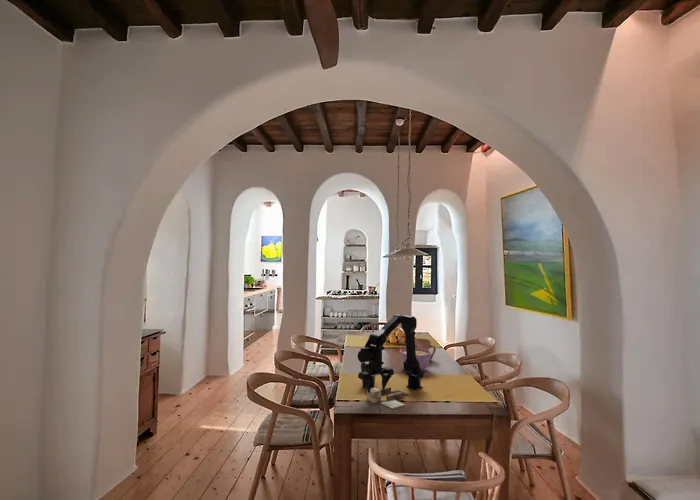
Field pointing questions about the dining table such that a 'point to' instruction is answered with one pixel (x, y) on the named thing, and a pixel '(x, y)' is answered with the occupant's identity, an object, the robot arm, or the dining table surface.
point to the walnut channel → (392, 396)
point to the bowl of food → (418, 357)
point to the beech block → (374, 395)
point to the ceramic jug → (424, 345)
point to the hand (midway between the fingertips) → (376, 390)
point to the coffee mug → (370, 379)
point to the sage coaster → (392, 404)
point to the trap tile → (400, 391)
